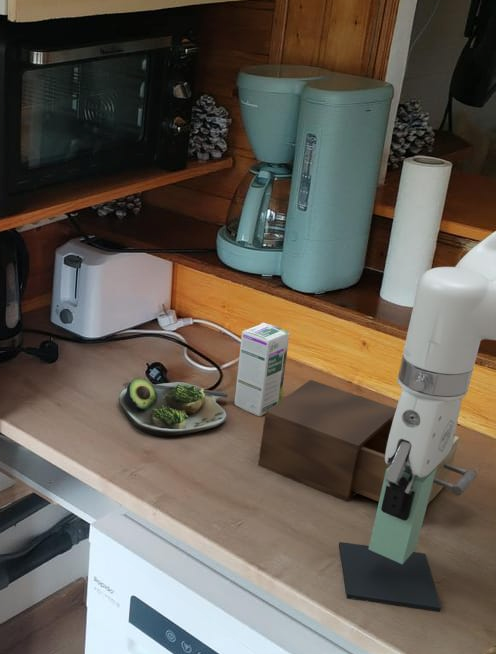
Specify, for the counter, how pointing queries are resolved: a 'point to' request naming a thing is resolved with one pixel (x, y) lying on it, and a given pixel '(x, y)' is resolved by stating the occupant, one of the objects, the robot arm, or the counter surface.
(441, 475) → the drawer
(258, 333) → the syrup box
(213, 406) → the avocado toast plate
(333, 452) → the cabinet
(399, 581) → the slate mat
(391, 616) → the counter surface
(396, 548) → the block
